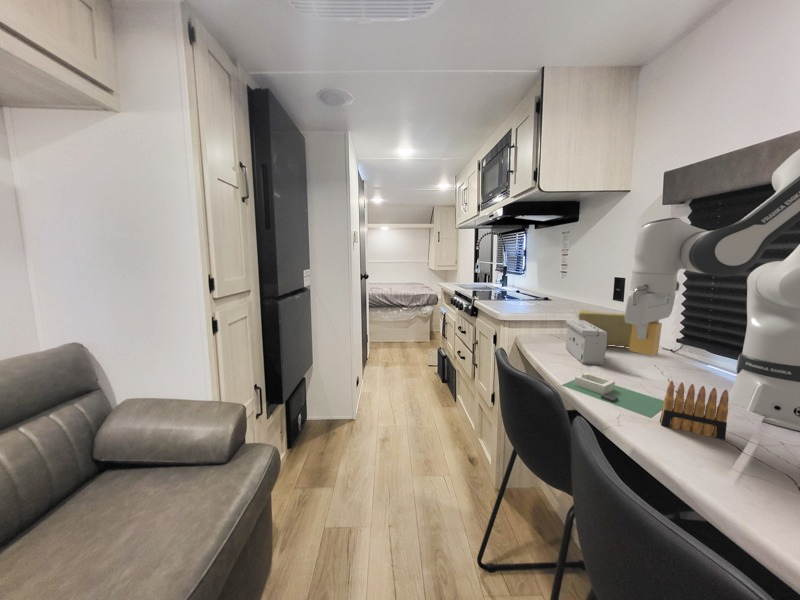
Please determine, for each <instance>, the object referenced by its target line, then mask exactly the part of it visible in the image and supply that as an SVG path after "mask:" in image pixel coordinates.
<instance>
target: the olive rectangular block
mask: <svg viewBox="0 0 800 600" xmlns="http://www.w3.org/2000/svg"><path fill="white" fill-rule="evenodd" d="M577 315H578V318H579V320H584V321H586V322H588V323H590V324H592V325H594V326H596V327H598V328H600V329H602V330H604V331H605V332H607V344H606V345H615V346H624V347H629V343H630V335H631V334H632V325H633V324H629V323H626V322H625V313H613V312H612V313H611V312H598V311H592V310H586V309H578V313H577Z"/></svg>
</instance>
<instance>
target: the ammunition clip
mask: <svg viewBox="0 0 800 600" xmlns="http://www.w3.org/2000/svg"><path fill="white" fill-rule="evenodd" d="M695 391H696V390H695V386H694V384H693V383H691V384H690V386H689V387H688V390H687V392H686V393H687V395H686V396H685V384H684V382H680V383H679V385H678V387H677V390H676V395H675V394H674V392H675V385H674V381H673V380H670V382H669V383H668V385H667V389H666V394H665V395H664V400H663V401H664V405H663V409H662V410H661V414H660V418H659V423H660V426H662V427H666V428H670V429H675V430H682V431H685V432H691V433H693V434H698V435H704V436H707V437H712V438H714V439H719V440H723V441H725V440H726V434H727V426H728V423H727V420H728V415H729V407H728V406H729V404H728V400H729V396H728V394H729V392H728V389H724V390H723V392H722V393H721V395H720V396H721V397H720V399H719V403H718V405H717V402H718V401H717V399H718V391H717V389H716V387H713V388H712V389H711V391H710V392H709V396H708V399H707V402H706V396H707V394H706V392H707V391H706V388H705V386H704V385H702V386H701V387H700V389H699V390H698V394H697V397H696V396H695V394H696V393H695ZM674 395H675V398H674ZM685 397H686V398H685ZM695 397H696V401H695ZM684 398H685V399H684Z"/></svg>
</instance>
